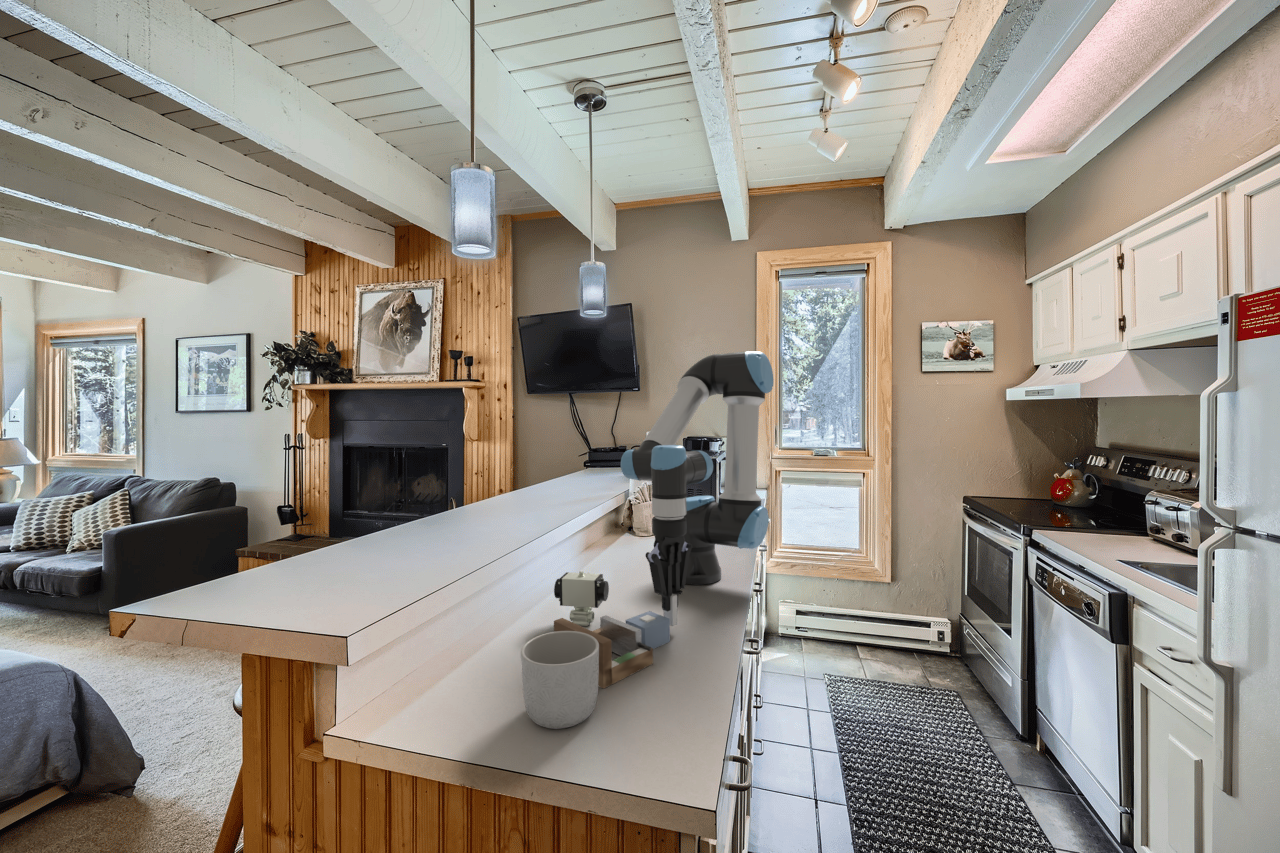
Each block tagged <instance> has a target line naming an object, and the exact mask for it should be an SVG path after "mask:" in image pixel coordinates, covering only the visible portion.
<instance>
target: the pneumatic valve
mask: <svg viewBox="0 0 1280 853" xmlns="http://www.w3.org/2000/svg"><path fill="white" fill-rule="evenodd" d="M609 586H610V585H609V582H608V581H607V580H605V578H604V574H603V573H589V572H587V573H585V572H584V570H580V571H579V572H567V571H566V572H565V573H564V574H563V575H562V576H561V577H559V578H556V581H555V583H554V587H553V595H554V597H555V599H558V602H559V606H560V607H562V606H563V607H573V608H574V609H571V610H570V612H569V621H570V622H573V623H575V624H577V625H579V626H582V627H588V626H589V625H590V623H593V622H594V620H595V611H594V610H593V608H595V609H597V608H599V607H600V606H601V604H602V603H603V602H607V600H608V598H609V590H610V588H609Z"/></svg>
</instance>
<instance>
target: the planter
mask: <svg viewBox="0 0 1280 853" xmlns="http://www.w3.org/2000/svg"><path fill="white" fill-rule="evenodd" d="M520 663H521V665H520V666H521V678H522V691H523V692H522V694H523V702H524V705H525V706H524V707H525V710H526V711H525V712H526V713H527V715H528V717H529V719H530V720H531V721H532V722H534V723H535V724H537V725H538V726H540V727H542V728H543V727H544V728H546V729H555V730H558V729H566V728H571V727H574V726H577V725H578V724H581V723H583V722H584V721H585V720H586V719H587V718H589V717H590V716H591V714H592V713H593V711H594V710H595V707H596V704H597V702H598V701H597V700H598V695H599V694H598V692H599V686H598V679H599V643H598V641H597V640H596V639H595V638H594V637H593V636H591V635H589V634H586V633H582V632H577V631H557V632H554V631H551V632H547V633H543V634H540V635H537V636H535V637H533V638H531V639H529V640H527V642H526V643H524V644H523V646H522V647H521V649H520Z"/></svg>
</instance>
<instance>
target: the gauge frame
mask: <svg viewBox="0 0 1280 853" xmlns="http://www.w3.org/2000/svg"><path fill="white" fill-rule="evenodd" d="M557 631H577V632H582V633H586V634H589V635H591V636H593V637H594V638H595V639H596V640H597V641H598V643H599V679H598V688H601V689H606V688H608V687H610V686H612V685H614V684H615V683H617V682H618V683H619V682H620V681H622V680H623V679H625V678H627V677H629V676H631V675H634V674H636V673H637V672H639V671H641V670H643V669H645V668H647V667H650V666H651V665H653V664H654V649H653V648H651V650H650V651H648V650H645V649H643V648H639V649H637V650H635V651H633V652H631V653H627V654H625V655H623V656H620V655H619V657H616V658H614V659H613V658H612V656H613V655H612V654H613V652H612V651H611V640H610V639H608V638H606V637H604V636H601V631H600V628H599V627H598V628H597V629H594V630H591V629H589V628H586V627H585V626H579V625H577V624H575V623H573V622H572V621H571V620H568V619H566V618H564V617H560V618H557V619H555V620H553V632H557ZM612 659H613V660H612Z"/></svg>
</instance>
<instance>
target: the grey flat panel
mask: <svg viewBox="0 0 1280 853" xmlns="http://www.w3.org/2000/svg"><path fill="white" fill-rule="evenodd" d="M599 621H600V622H599V624H600V631H601V636H604V637H606V638H608V639H610V640H611V653H614V654H616V655H618V656H619V657H620V656H623V655H625V654H627V653H631V652H633V651H635V650H637V649H639V648H643V649H645V650H648V651H650V650H651V647H649V646H647V645H645V644H642V643H641V629H638V628H636V627H634V626H631V625H629V624H626V622H625V621H624V622H623V621H621V620H619V619H616V618H614V617H611V616H608V615H607V614H606V615H603V616H600V619H599Z"/></svg>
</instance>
